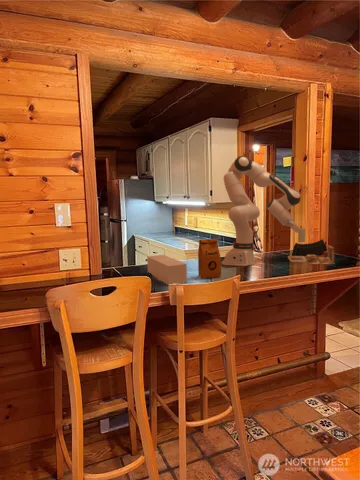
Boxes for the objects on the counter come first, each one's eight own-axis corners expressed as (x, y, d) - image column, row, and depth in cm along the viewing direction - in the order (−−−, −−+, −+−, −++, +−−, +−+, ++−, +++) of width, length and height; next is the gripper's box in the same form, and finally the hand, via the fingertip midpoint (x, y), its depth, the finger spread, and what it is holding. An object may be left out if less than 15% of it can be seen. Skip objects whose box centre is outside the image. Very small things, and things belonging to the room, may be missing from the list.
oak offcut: (308, 258, 211) (308, 255, 211) (306, 257, 215) (306, 254, 215) (316, 258, 211) (316, 255, 211) (314, 257, 215) (314, 254, 215)
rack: (308, 265, 209) (308, 248, 207) (304, 261, 220) (305, 245, 218) (335, 265, 206) (335, 248, 205) (330, 262, 217) (330, 245, 215)
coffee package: (222, 278, 184) (222, 239, 181) (201, 279, 181) (200, 240, 178) (217, 273, 193) (216, 237, 190) (197, 275, 191) (196, 238, 188)
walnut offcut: (307, 262, 212) (307, 258, 211) (305, 261, 217) (305, 257, 216) (317, 262, 211) (317, 258, 210) (315, 261, 216) (315, 257, 215)
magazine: (292, 245, 232) (323, 231, 241) (289, 245, 235) (320, 230, 244) (297, 267, 236) (327, 252, 245) (294, 266, 239) (324, 251, 248)
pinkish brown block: (147, 273, 200) (147, 256, 198) (163, 271, 204) (163, 254, 203) (168, 286, 171) (168, 266, 170) (187, 283, 176) (186, 263, 174)
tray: (290, 263, 215) (290, 260, 215) (287, 259, 229) (287, 256, 228) (306, 263, 213) (306, 260, 213) (302, 259, 227) (302, 256, 227)
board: (298, 242, 217) (299, 228, 215) (298, 241, 218) (298, 228, 217) (304, 242, 216) (305, 228, 214) (304, 241, 218) (305, 228, 216)
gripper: (292, 217, 206) (308, 233, 206) (289, 215, 226) (303, 229, 225) (284, 224, 208) (300, 240, 207) (282, 221, 228) (296, 235, 227)
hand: (301, 234), depth 216 cm, fingers closed on board, 2 cm apart
